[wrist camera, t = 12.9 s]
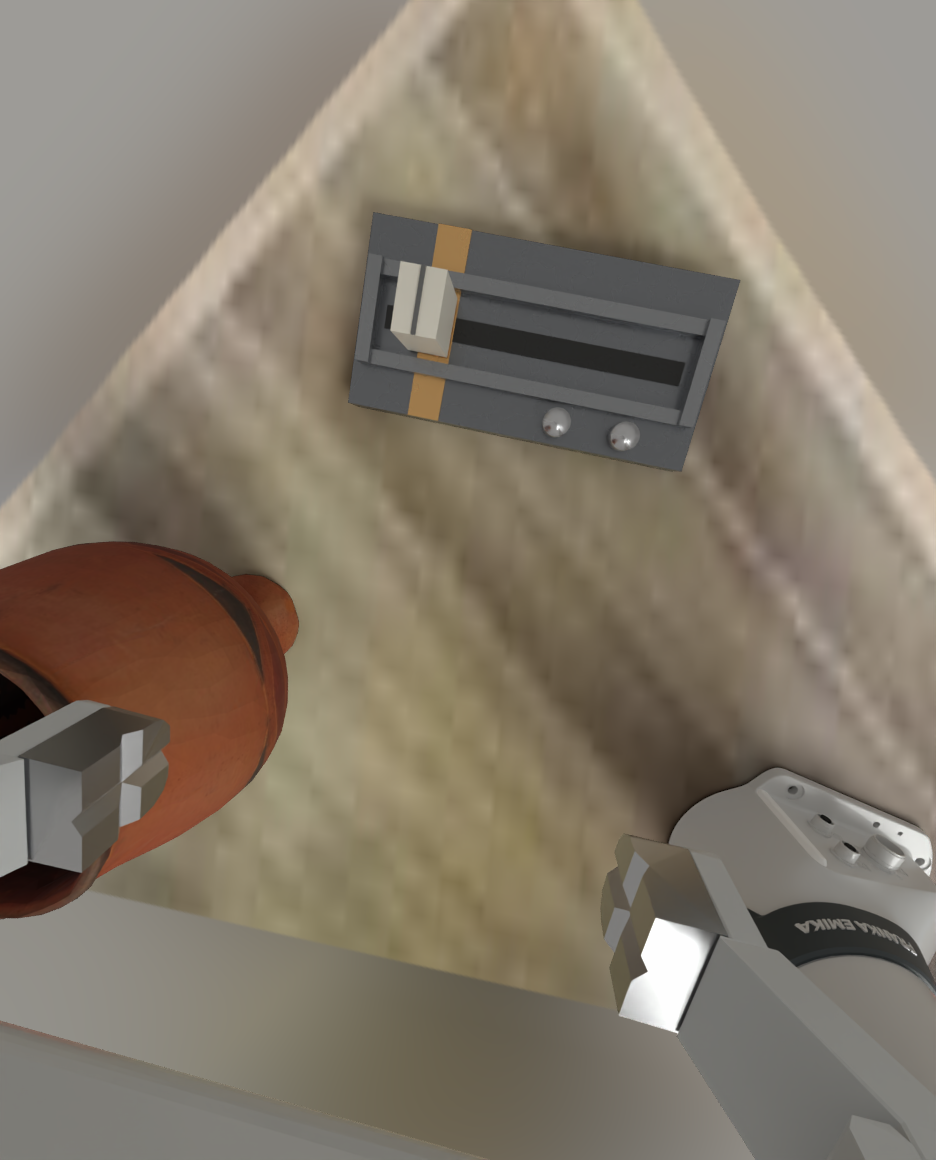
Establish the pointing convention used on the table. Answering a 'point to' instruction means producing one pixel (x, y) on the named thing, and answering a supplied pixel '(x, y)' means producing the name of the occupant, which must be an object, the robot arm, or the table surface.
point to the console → (545, 343)
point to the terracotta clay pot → (145, 679)
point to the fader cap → (424, 309)
